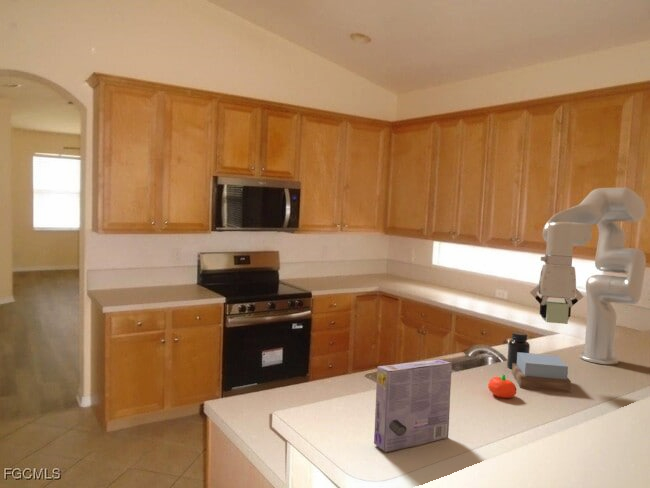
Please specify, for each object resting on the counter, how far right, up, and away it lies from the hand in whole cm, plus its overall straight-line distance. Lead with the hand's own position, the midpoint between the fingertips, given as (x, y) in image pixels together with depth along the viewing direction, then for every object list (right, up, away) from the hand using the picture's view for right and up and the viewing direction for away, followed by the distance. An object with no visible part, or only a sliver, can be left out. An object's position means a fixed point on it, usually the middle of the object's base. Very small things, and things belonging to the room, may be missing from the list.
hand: (554, 317), depth 153 cm
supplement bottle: (-6, -20, +14) cm, 25 cm away
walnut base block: (-5, -21, -1) cm, 21 cm away
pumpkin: (-22, -21, -14) cm, 33 cm away
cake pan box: (-53, -21, -44) cm, 72 cm away
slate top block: (-5, -17, -1) cm, 18 cm away
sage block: (0, -1, 0) cm, 1 cm away
